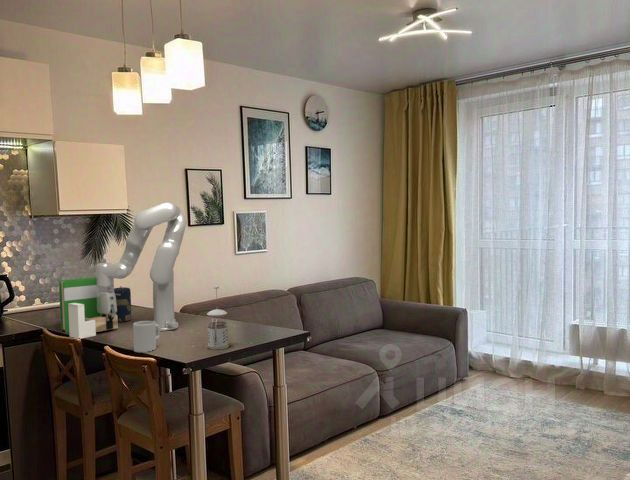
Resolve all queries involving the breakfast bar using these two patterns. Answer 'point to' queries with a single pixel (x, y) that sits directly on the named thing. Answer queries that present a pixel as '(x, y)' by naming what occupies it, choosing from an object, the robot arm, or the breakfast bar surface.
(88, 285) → the hardback book
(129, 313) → the canister
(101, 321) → the light wood block
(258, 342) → the breakfast bar surface
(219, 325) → the french press
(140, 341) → the mug
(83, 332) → the white stepped block
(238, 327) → the breakfast bar surface
